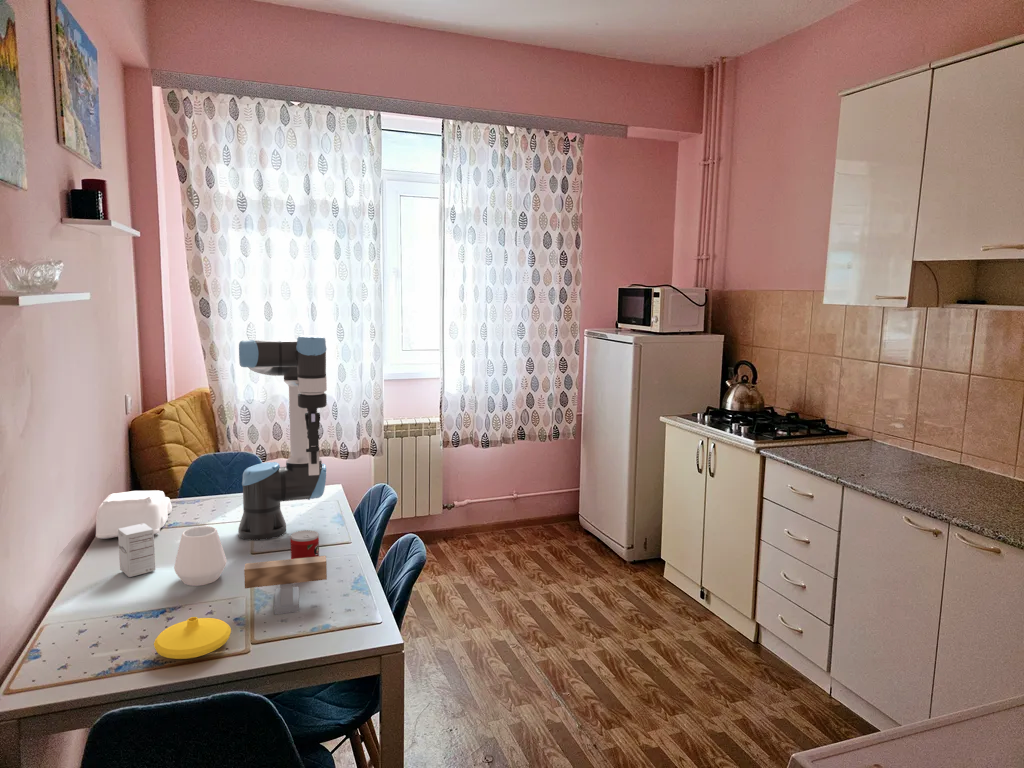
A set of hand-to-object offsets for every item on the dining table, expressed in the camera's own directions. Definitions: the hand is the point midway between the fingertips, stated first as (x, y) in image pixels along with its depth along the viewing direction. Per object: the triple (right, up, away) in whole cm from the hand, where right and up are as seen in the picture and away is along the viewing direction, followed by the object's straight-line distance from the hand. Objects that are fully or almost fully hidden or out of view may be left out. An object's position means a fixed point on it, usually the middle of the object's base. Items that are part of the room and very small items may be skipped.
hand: (313, 468), depth 183 cm
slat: (-4, -28, -11) cm, 30 cm away
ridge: (-4, -34, -10) cm, 36 cm away
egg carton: (-75, -26, +46) cm, 91 cm away
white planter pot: (-33, -32, +3) cm, 46 cm away
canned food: (-5, -32, +10) cm, 34 cm away
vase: (-17, -37, -33) cm, 53 cm away
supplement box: (-53, -31, +8) cm, 62 cm away
